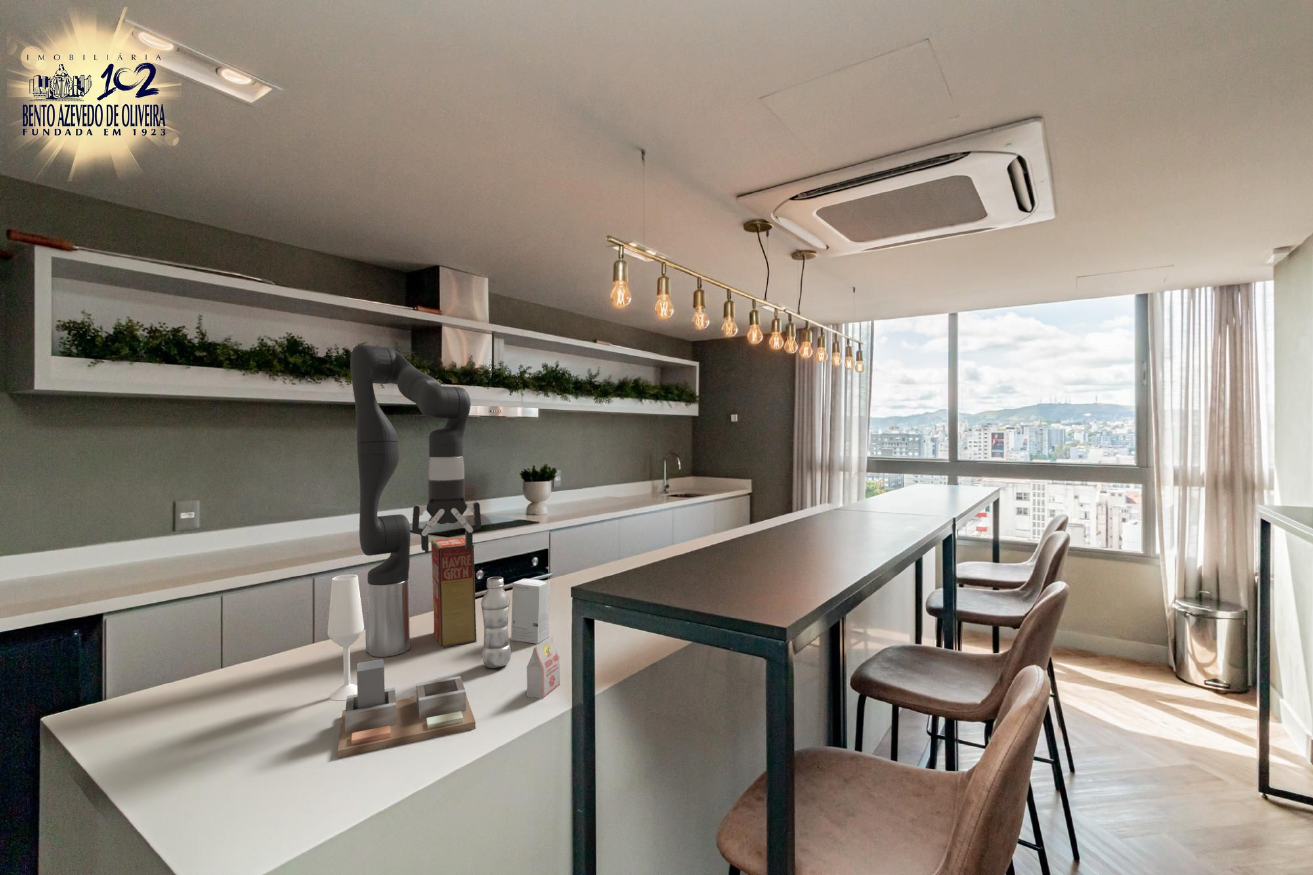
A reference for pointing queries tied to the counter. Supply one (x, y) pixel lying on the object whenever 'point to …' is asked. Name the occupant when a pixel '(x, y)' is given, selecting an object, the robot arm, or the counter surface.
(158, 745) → the counter surface
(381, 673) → the plug
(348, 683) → the champagne flute
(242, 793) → the counter surface
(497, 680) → the counter surface
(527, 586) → the skincare box
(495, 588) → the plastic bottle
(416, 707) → the socket board
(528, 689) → the small milk carton
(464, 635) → the food packaging
